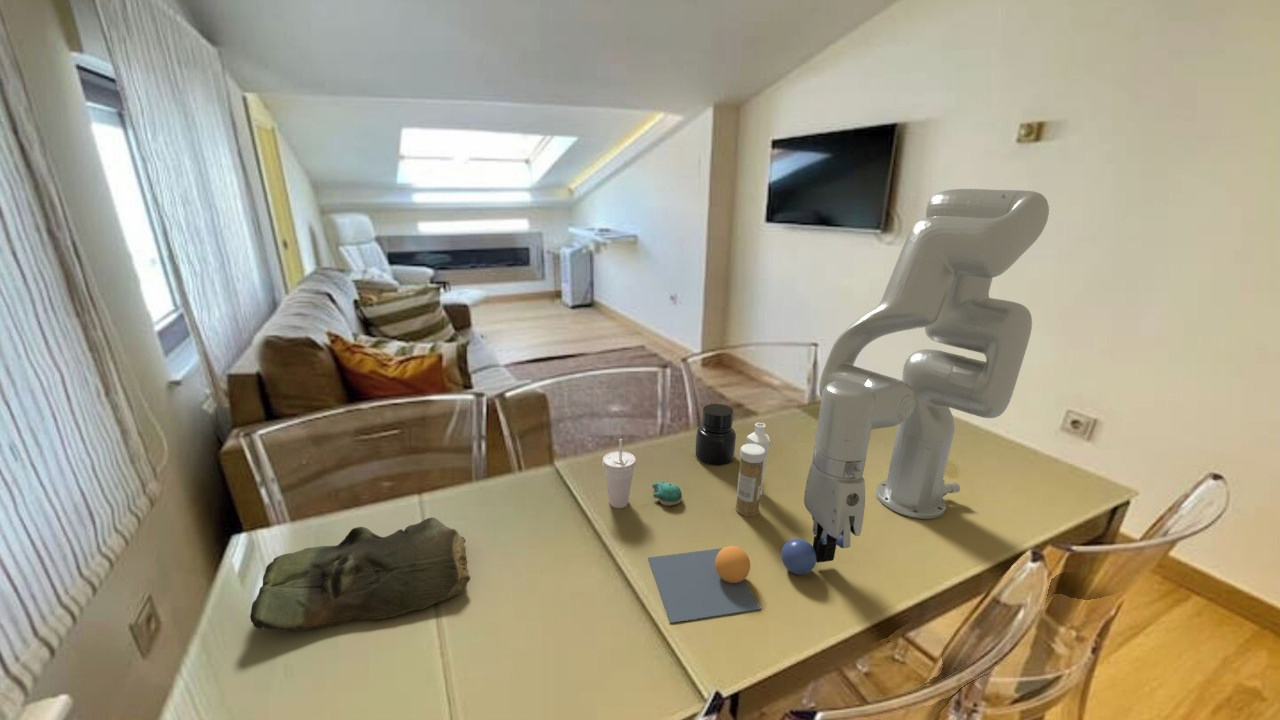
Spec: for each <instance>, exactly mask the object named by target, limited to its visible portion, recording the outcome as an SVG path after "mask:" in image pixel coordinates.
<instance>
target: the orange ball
mask: <svg viewBox="0 0 1280 720" xmlns="http://www.w3.org/2000/svg"><path fill="white" fill-rule="evenodd" d="M722 548H723V549H721V550H720V551H719V553H718V554H717V556H716V559H715V567H716V571H717V573H718V575H719V576H720V577H721V578H722V579H723V580H725V581H727V582H729V583H738V582H741V581H743V580H744V579H745V580H746V578H747V577H748V575H749V574H750V570H751V560H750V557H749V555H748V554H747V552H746V551H744V550H743V548H741V547H738V546H736V545H728V546H725V547H722Z"/></svg>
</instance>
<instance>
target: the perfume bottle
mask: <svg viewBox="0 0 1280 720" xmlns="http://www.w3.org/2000/svg"><path fill="white" fill-rule="evenodd" d="M766 427H767V426H766V423H764V422H756V423H754V432H752V433H749V434H748V435H747V436H746V444H756V445H759V446H761V447H763V448H764V449H765V460H764V462H763V469H762V481H761V492H760V496H762V495H763V487H762V485H763V482H764V481H763V480H764V476H765V469H766V465H767V459H768V455H769V450H770V445H771V444H770V443H771V439H770V437H769V435H768V434H767V433H765V431H766V430H765V429H766Z"/></svg>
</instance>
